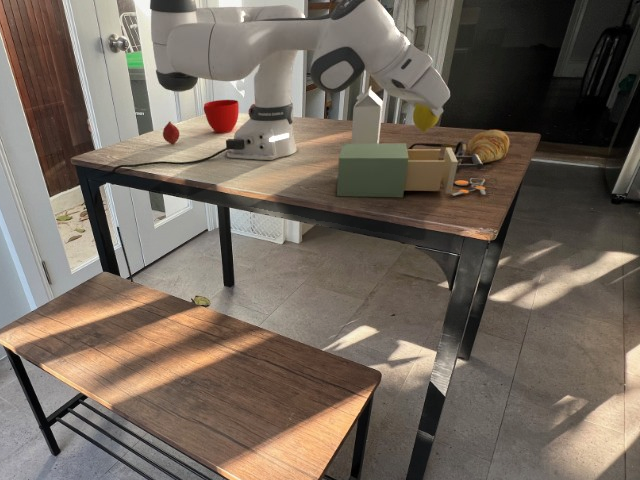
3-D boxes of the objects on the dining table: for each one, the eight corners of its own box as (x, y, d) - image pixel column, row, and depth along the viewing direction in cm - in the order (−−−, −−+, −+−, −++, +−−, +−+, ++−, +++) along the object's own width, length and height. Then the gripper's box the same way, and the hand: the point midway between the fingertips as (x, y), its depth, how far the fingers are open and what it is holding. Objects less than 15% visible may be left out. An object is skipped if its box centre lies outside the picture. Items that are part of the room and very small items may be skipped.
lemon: (438, 134, 95) (445, 95, 91) (412, 135, 96) (417, 96, 92) (434, 128, 99) (441, 90, 95) (409, 129, 101) (414, 91, 96)
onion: (161, 146, 156) (157, 123, 151) (169, 142, 160) (166, 119, 155) (175, 147, 154) (172, 123, 149) (183, 142, 158) (180, 119, 153)
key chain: (456, 178, 108) (457, 175, 108) (489, 181, 105) (490, 177, 105) (448, 196, 99) (449, 192, 99) (484, 200, 96) (485, 196, 96)
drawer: (470, 177, 106) (477, 147, 102) (478, 194, 97) (486, 161, 93) (386, 176, 111) (389, 147, 107) (386, 192, 102) (390, 161, 98)
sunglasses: (404, 155, 127) (407, 137, 124) (462, 157, 122) (466, 139, 119) (399, 170, 117) (401, 151, 114) (461, 174, 111) (466, 154, 108)
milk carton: (377, 156, 128) (384, 85, 118) (375, 163, 123) (382, 90, 112) (352, 155, 130) (357, 86, 120) (349, 162, 125) (354, 90, 114)
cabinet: (400, 179, 111) (405, 143, 106) (402, 197, 101) (408, 158, 96) (340, 179, 115) (342, 143, 110) (336, 195, 105) (338, 158, 100)
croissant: (485, 180, 115) (508, 155, 109) (453, 159, 117) (474, 133, 111) (502, 156, 128) (523, 133, 122) (473, 137, 130) (492, 113, 124)
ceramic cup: (219, 124, 178) (216, 97, 173) (247, 129, 168) (245, 101, 162) (194, 131, 172) (190, 104, 166) (221, 136, 161) (219, 107, 155)
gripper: (360, 72, 98) (395, 113, 105) (408, 85, 81) (445, 133, 88) (381, 48, 96) (415, 91, 103) (434, 55, 79) (470, 106, 86)
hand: (429, 110), depth 95 cm, fingers closed on lemon, 5 cm apart
